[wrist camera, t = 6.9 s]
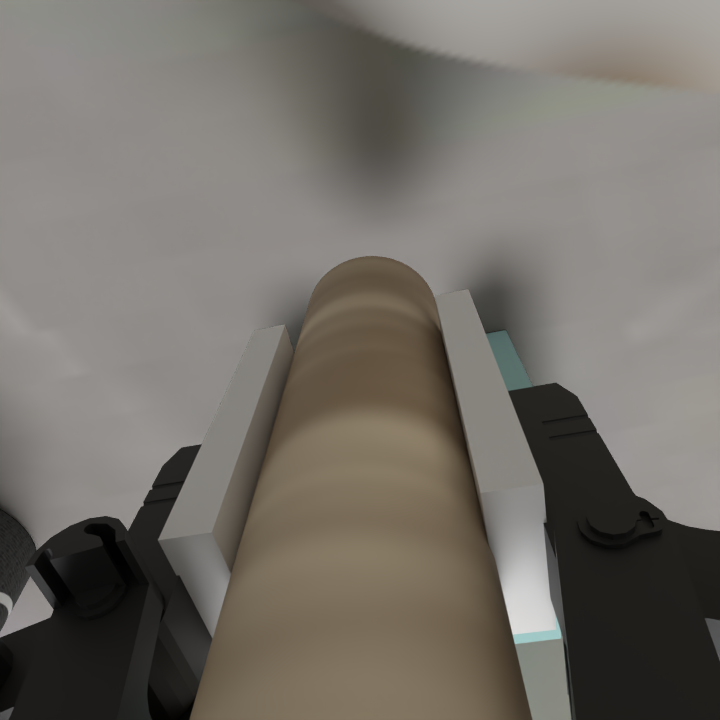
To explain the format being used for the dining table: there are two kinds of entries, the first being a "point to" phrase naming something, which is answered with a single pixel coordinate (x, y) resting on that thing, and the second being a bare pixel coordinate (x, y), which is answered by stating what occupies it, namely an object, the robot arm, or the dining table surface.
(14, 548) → the coffee cup
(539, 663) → the wall
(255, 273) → the dining table surface
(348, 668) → the dowel
